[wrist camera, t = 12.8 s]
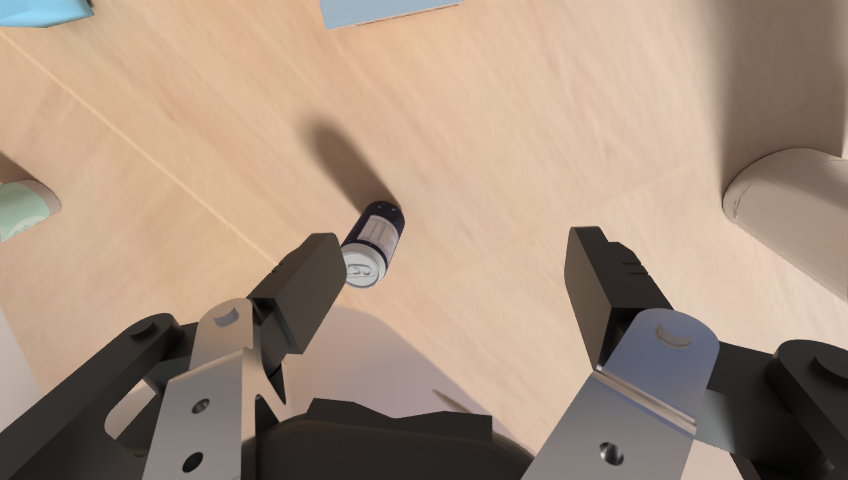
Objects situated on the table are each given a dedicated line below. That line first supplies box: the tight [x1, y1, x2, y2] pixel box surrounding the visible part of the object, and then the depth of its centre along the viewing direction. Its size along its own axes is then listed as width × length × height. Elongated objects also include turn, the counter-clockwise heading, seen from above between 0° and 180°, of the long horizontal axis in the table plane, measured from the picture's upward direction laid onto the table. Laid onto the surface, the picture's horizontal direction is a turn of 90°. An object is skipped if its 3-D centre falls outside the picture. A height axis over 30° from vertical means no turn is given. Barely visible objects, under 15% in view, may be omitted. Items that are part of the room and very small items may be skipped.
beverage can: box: [340, 201, 405, 289], centre depth 37 cm, size 6×6×12 cm
